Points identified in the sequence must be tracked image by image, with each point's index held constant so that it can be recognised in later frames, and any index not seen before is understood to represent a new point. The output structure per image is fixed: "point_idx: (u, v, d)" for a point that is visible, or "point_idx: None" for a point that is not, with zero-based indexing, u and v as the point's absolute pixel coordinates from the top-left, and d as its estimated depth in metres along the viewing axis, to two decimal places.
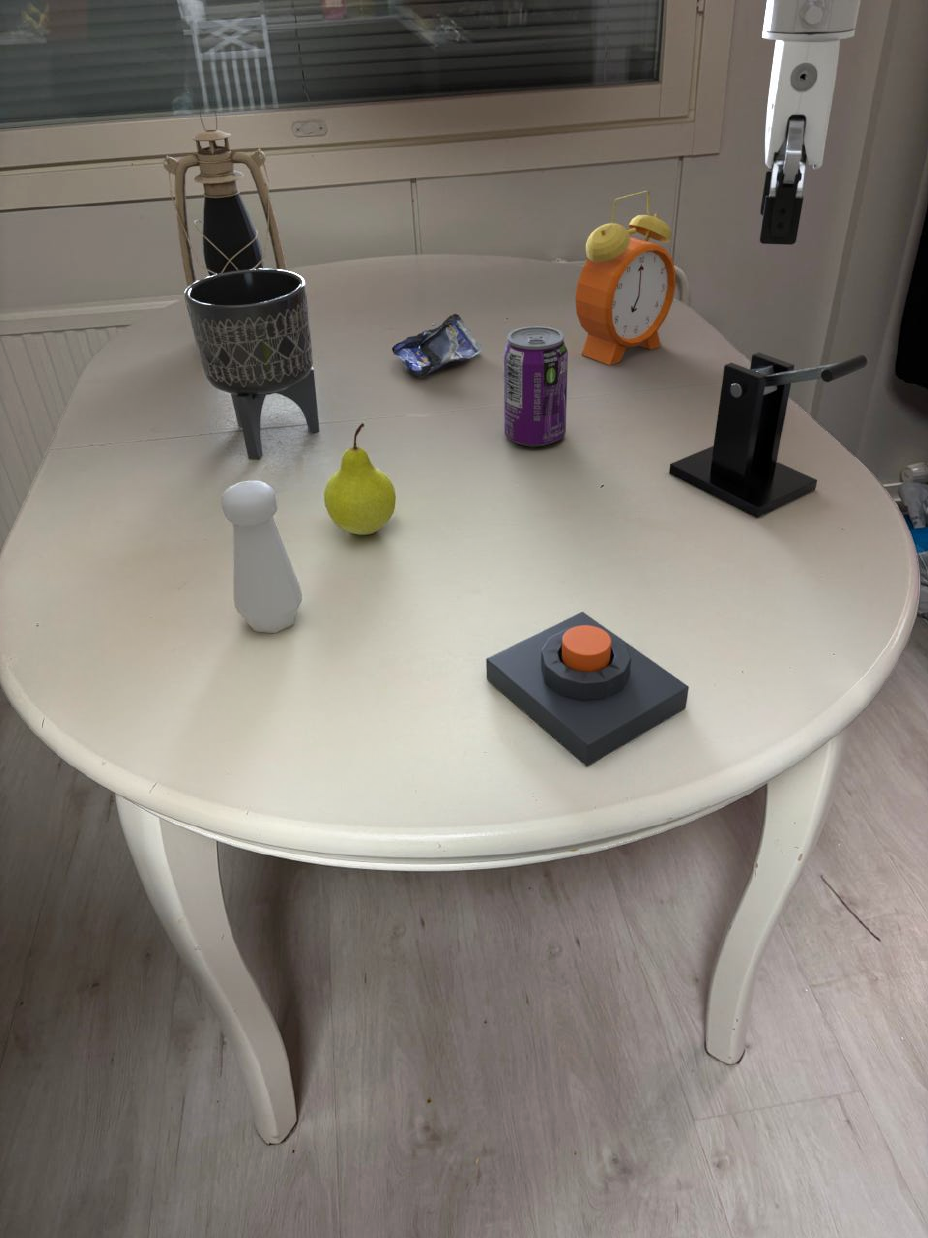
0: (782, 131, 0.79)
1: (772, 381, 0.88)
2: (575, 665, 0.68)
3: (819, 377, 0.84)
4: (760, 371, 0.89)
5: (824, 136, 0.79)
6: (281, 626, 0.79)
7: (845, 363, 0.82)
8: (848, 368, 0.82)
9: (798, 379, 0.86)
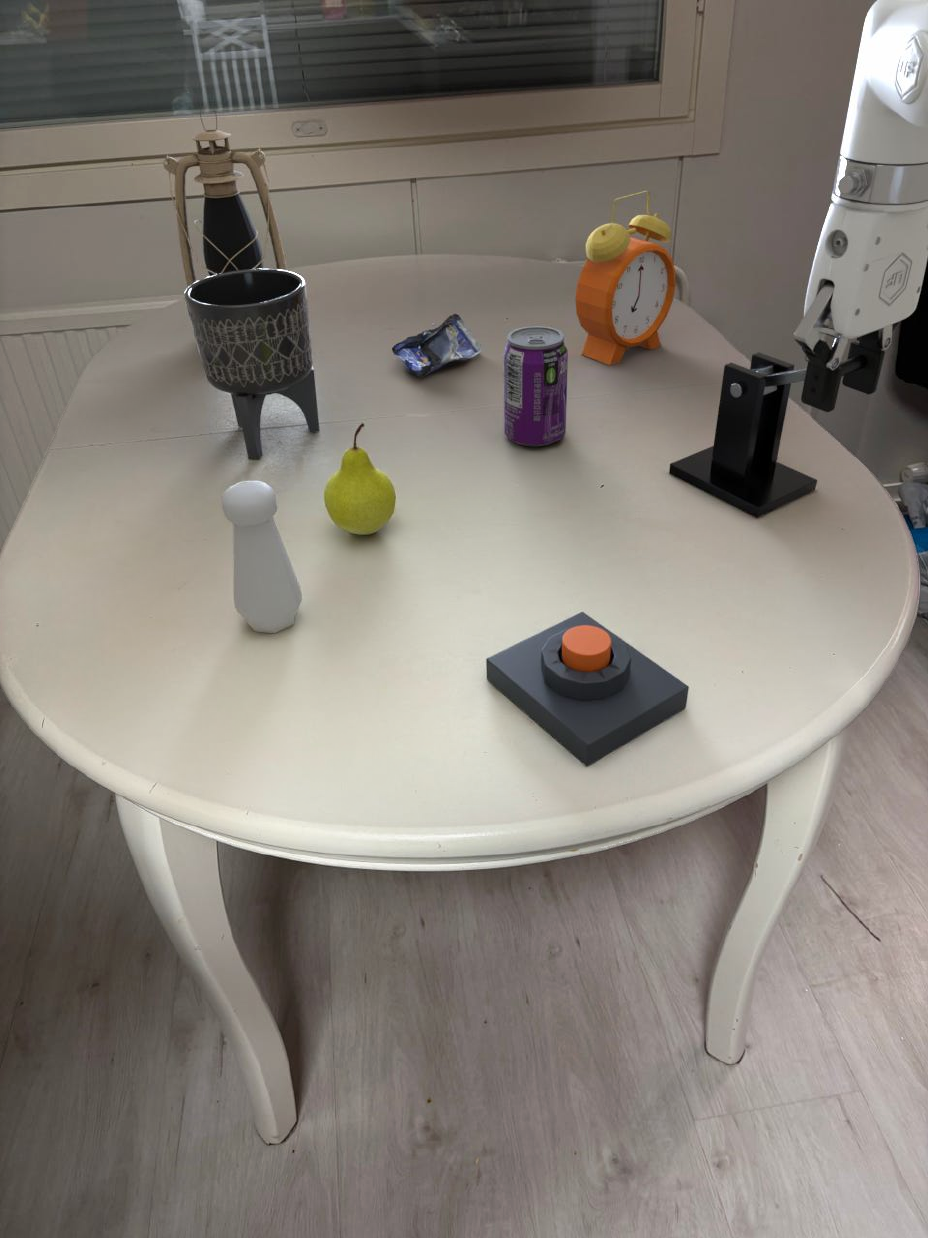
0: (814, 292, 0.76)
1: (772, 381, 0.88)
2: (575, 665, 0.68)
3: None
4: (760, 371, 0.89)
5: (851, 307, 0.74)
6: (281, 626, 0.79)
7: (845, 363, 0.82)
8: (848, 368, 0.82)
9: (798, 379, 0.86)
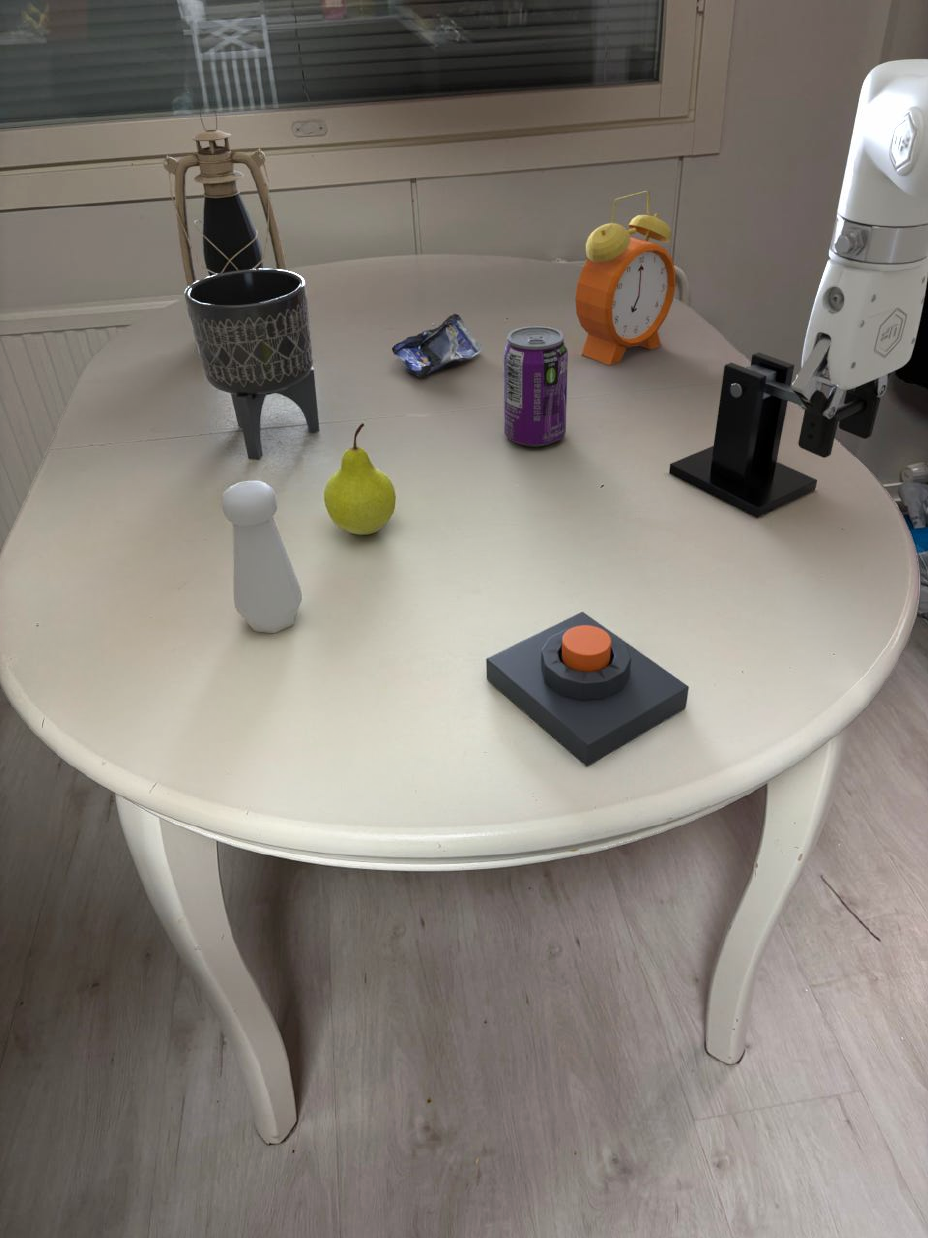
0: (811, 345, 0.78)
1: (772, 391, 0.89)
2: (575, 665, 0.68)
3: None
4: None
5: (847, 361, 0.76)
6: (281, 626, 0.79)
7: (846, 409, 0.83)
8: (847, 415, 0.83)
9: (798, 402, 0.87)
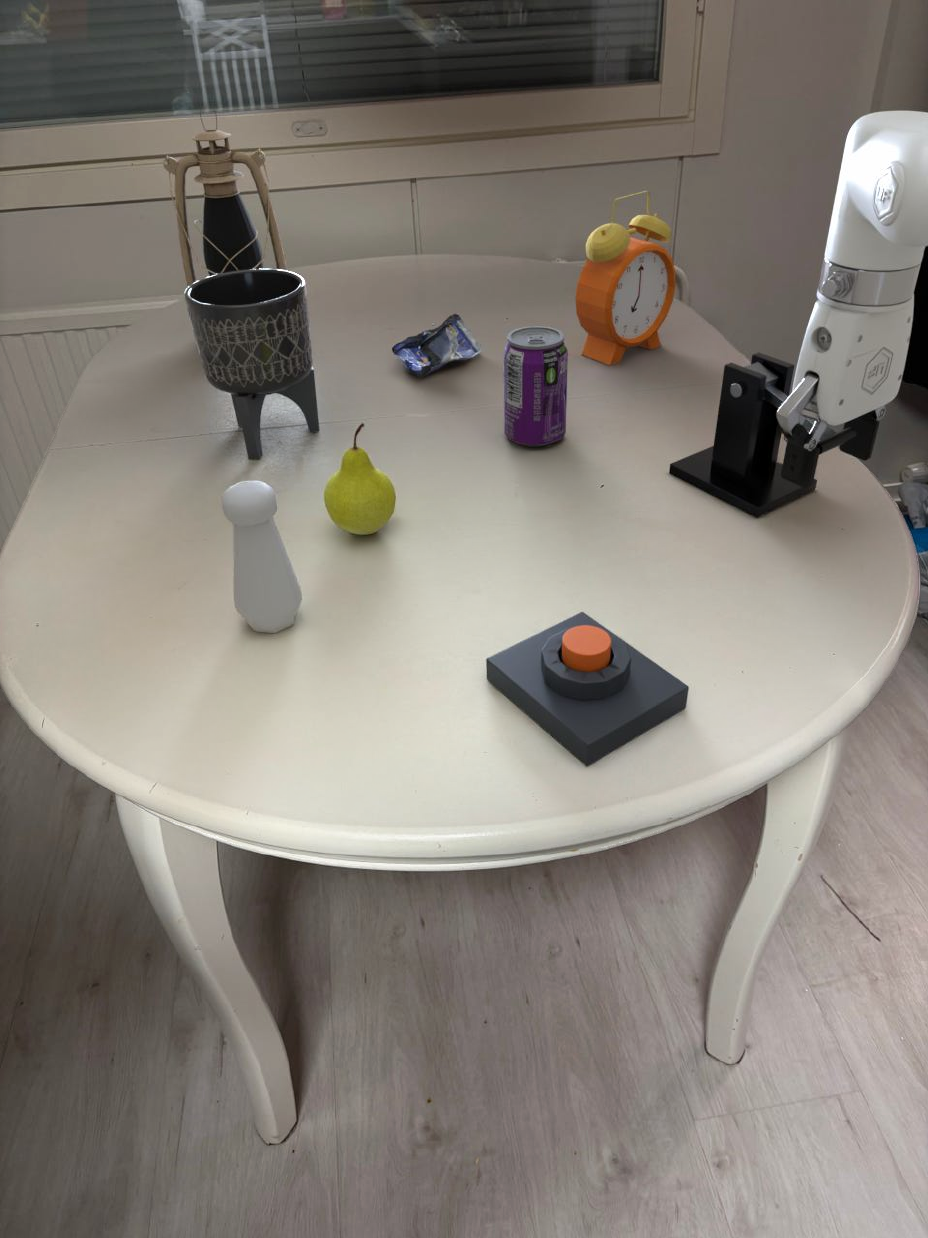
0: (800, 382, 0.80)
1: (770, 398, 0.89)
2: (575, 665, 0.68)
3: None
4: None
5: (835, 398, 0.79)
6: (281, 626, 0.79)
7: (837, 440, 0.85)
8: (837, 445, 0.86)
9: None
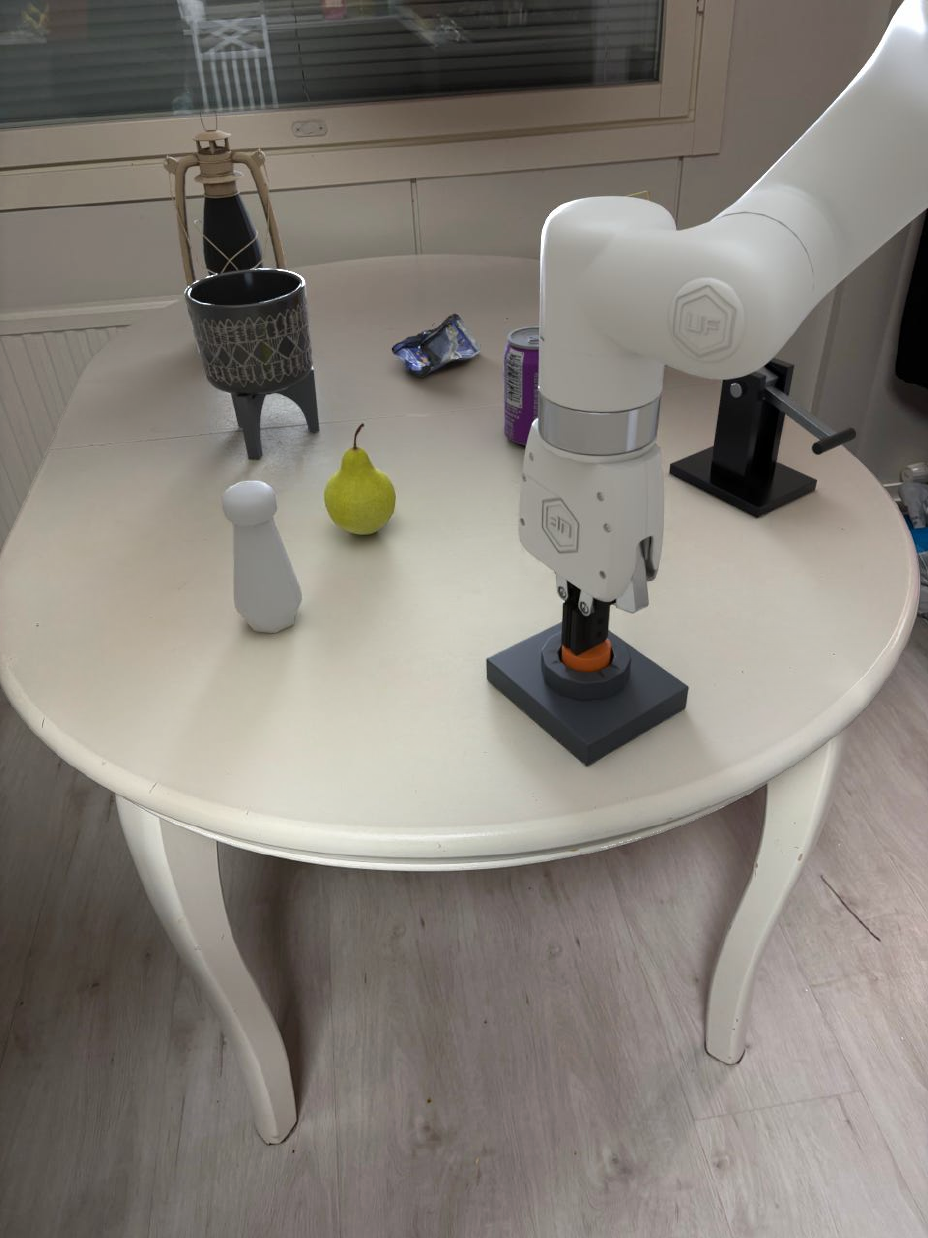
0: None
1: (770, 398, 0.89)
2: None
3: (810, 431, 0.87)
4: None
5: (519, 511, 0.65)
6: (281, 626, 0.79)
7: (837, 440, 0.85)
8: (837, 445, 0.86)
9: (792, 417, 0.88)
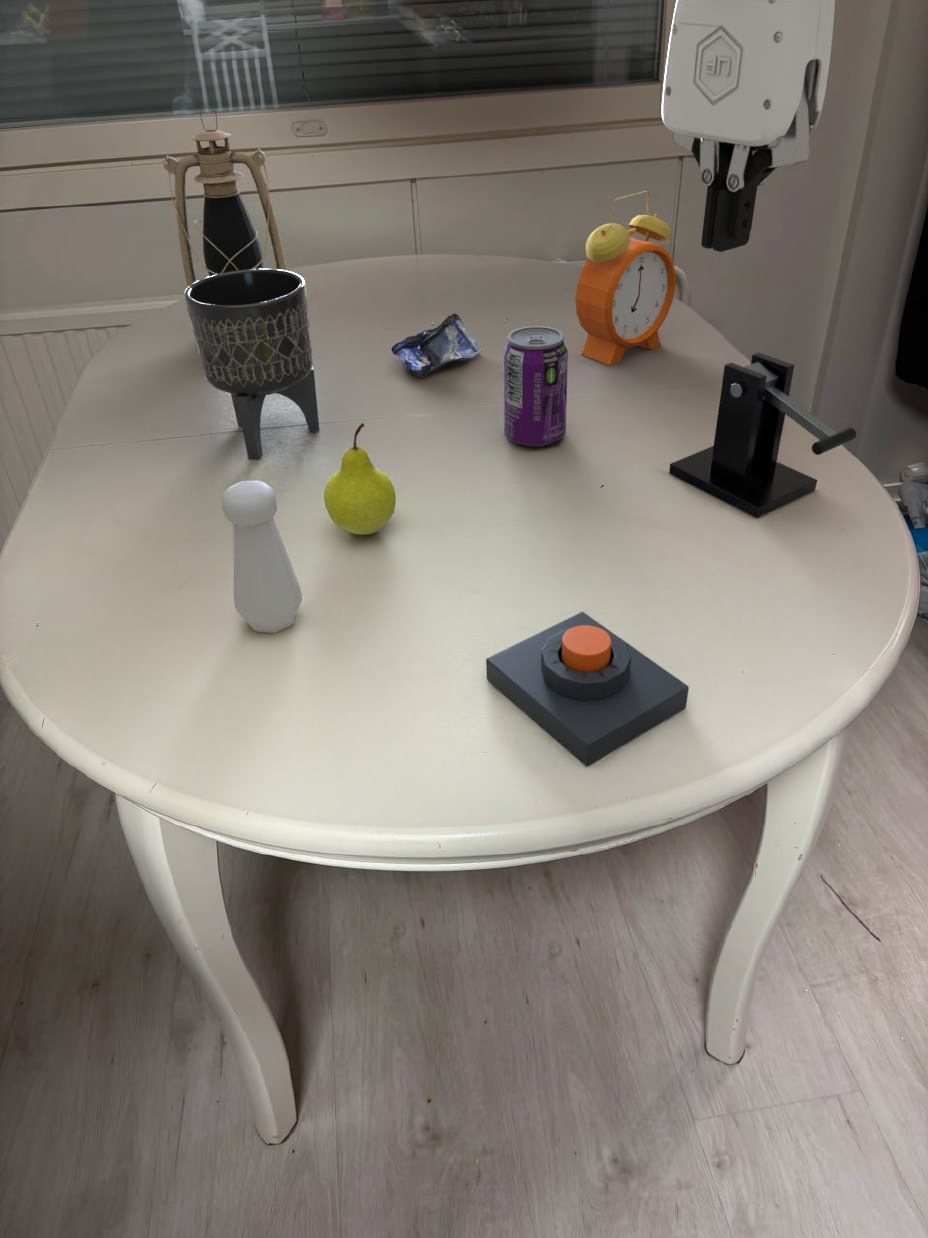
0: None
1: (770, 398, 0.89)
2: (575, 665, 0.68)
3: (810, 431, 0.87)
4: None
5: (664, 82, 0.62)
6: (281, 626, 0.79)
7: (837, 440, 0.85)
8: (837, 445, 0.86)
9: (792, 417, 0.88)
